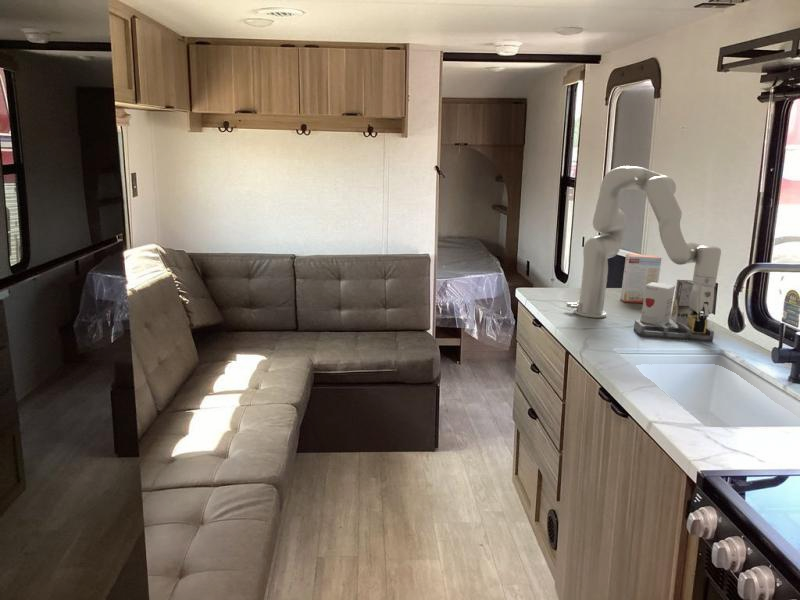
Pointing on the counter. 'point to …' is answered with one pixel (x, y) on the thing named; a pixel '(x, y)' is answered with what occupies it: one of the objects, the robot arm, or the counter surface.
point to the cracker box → (639, 276)
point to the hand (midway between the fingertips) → (695, 329)
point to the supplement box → (657, 303)
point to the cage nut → (691, 323)
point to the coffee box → (682, 301)
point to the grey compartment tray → (672, 332)
